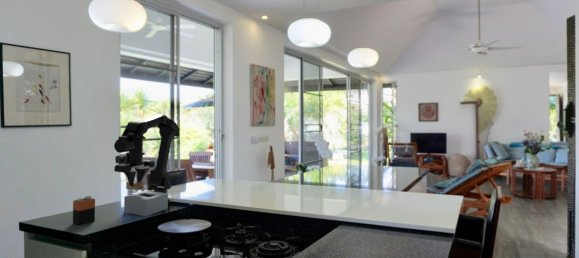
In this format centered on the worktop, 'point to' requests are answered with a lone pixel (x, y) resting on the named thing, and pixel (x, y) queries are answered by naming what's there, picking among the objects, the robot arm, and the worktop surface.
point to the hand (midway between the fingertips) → (135, 185)
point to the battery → (84, 210)
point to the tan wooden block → (135, 185)
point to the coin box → (145, 203)
